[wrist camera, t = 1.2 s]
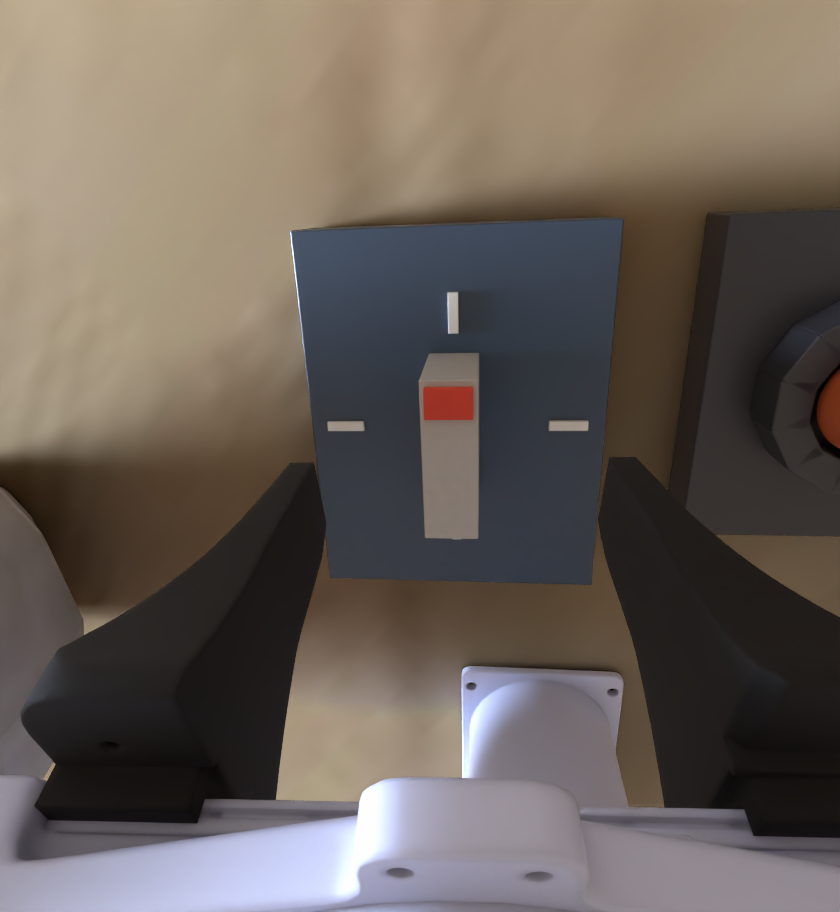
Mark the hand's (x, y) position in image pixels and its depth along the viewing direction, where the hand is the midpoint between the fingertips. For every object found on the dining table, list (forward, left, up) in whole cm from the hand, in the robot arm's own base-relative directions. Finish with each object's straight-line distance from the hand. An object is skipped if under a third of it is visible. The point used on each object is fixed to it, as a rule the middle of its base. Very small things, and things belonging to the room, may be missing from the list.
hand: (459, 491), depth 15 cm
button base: (0, -14, -11) cm, 17 cm away
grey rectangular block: (-1, +1, -8) cm, 8 cm away
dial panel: (-1, +1, -11) cm, 11 cm away
